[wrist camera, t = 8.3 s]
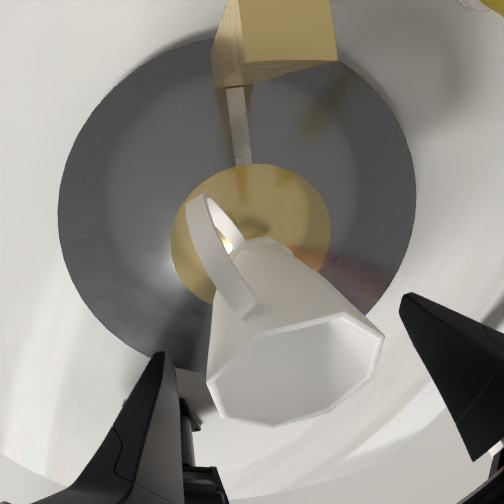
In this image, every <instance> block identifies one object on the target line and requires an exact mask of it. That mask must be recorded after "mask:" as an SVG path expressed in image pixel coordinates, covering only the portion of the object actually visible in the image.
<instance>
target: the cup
mask: <svg viewBox="0 0 504 504" xmlns="http://www.w3.org/2000/svg"><path fill="white" fill-rule="evenodd" d="M185 210H186V219H187V223H188V227H189V231H190V235H191V239H192V242H193V244H194V246H195V249H196V251H197V253H198V255H199V257H200V259H201V262H202V264H203V266H204V268H205V270H206V272H207V274H208V275H209V277H210V279H211V280H212V282H213V283H214V285H215V286H216V288H217V290H216V293H215V297H214V301H213V312H212V323H211V335H210V343H209V352H208V362H207V375H206V384H207V387H208V389H209V391H210V394H211V396H212V398H213V400H214V403H215V405H216V407H217V409H218V412H219V414H220V416H221V418H222V419H226V420H231V421H235V422H240V423H246V424H251V425H256V426H262V427H269V428H274V427H278V426H283V425H287V424H290V423H294V422H298V421H302V420H305V419H309V418H312V417H315V416H319V415H322V414H325V413H328V412H329V411H331V410H332V409H334V408H335V407H336V406H338V405H339V404H340V403H342V402H343V401H344V400H346V399H347V398H348V397H349V396H351V395H352V394H353V393H355V392H356V391H357V390H358V389H360V388H361V387H362V386H363V385H364V384H366V383H367V382H368V381H369V380H370V379H372V378H373V375H374V372H375V369H376V365H377V362H378V359H379V356H380V352H381V349H382V345H383V342H384V338H385V335H384V334H383V333H382V332H381V331H380V330H379V329H378V328H377V327H376V326H375V325H374V324H373V323H371V322H370V321H369V320H368V319H367V318H366V317H365V316H364V315H363V314H362V313H361V312H360V311H359V310H358V309H357V308H356V307H354V306H353V305H352V304H351V303H350V302H349V301H348V300H347V299H346V298H345V297H344V296H343V295H342V294H341V293H340V292H339V291H338V290H337V289H336V288H335V287H334V286H333V285H332V284H331V283H329V282H328V281H327V280H326V279H325V278H324V277H323V276H322V275H320V274H319V273H318V272H316V271H315V270H313V269H312V268H310V267H309V266H307V265H306V264H305V263H303V262H302V261H300V260H299V259H297V258H296V257H294V256H293V252H292V250H290V249H289V248H287V247H286V246H284V245H283V244H281V243H280V242H278V241H277V240H275V239H274V238H272V237H271V236H264V237H258V238H253V239H248V240H246V239H245V238H244V236H243V235H242V233H241V232H240V230H239V229H238V227H237V226H236V225H235V224H234V222H233V221H232V220H231V218H230V217H229V216H228V215H227V213H226V212H225V211H224V210H223V209H222V208H221V206H220V205H219V204H218V203H217V202H216V201H215V200H214V198H213V197H211V196H210V195H209V194H208V193H207V192H206V191H205V192H203V193H202V194H200V195H198V196H197V197H195V198H194V199H192V200H191V201H189V202H188V203H186V204H185ZM215 227H216V228H218V229H219V231H220V232H221V233H222V234H223V235H224V236H225V238H226V239H227V240H228V241H229V242H230V244H231V245H232V247H233V249H232V250H231V251H230V253H229V254H228V252H227V250H226V248H225V246H224V244H223V242H222V240H221V238H220V236H219V234H218V232H217V230H216V228H215Z"/></svg>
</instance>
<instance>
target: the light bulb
mask: <svg viewBox="0 0 504 504" xmlns="http://www.w3.org/2000/svg"><path fill="white" fill-rule="evenodd" d="M458 1H459V2H460V3H461V4H462V5H463V6H464V7H466V8H473V9H474V10H476V11H478V12H488V11H490V10H491V9H493V10H494V11H496V12H497V13H499V14H500V15H502V16H503V17H504V0H458Z"/></svg>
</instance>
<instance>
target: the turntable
mask: <svg viewBox="0 0 504 504" xmlns="http://www.w3.org/2000/svg"><path fill="white" fill-rule="evenodd" d="M205 191H206V192H207V193H208V194H209V195H210V196H211V197H213V198H214V200H215V201H216V202H217V203H218V204H219V205H220V206H221V208H222V209H223V210H224V211H225V212H226V213H227V215H228V216H229V217H230V218H231V220H232V221H233V222H234V224H235V225H236V226H237V227H238V229H239V230H240V232H241V233H242V235H243V236H244V238H245V239H246V240H248V239H253V238H258V237H264V236H271V237H272V238H274V239H275V240H277V241H278V242H280V243H281V244H283V245H284V246H286V247H287V248H289V249H290V250H292V252H293V256H294V257H296V258H297V259H299V260H300V261H302V262H303V263H305V264H306V265H307V266H309V267H310V268H312V269H313V270H315V271H316V272H318V273H319V274H320V275H322V276H323V277H324V278H325V279H326V280H327V281H328V282H329V283H331V284H332V285H333V286H334V287H335V288H336V289H337V290H338V291H339V292H340V293H341V294H342V295H343V296H344V297H345V298H346V299H347V300H348V301H349V302H350V303H351V304H352V305H353V306H354V307H356V308H357V309H358V310H359V311H360V312H361V313H362V314H363V315H364V316H365V315H366V314H367V313H368V312H369V311H370V310H371V309H372V308H373V306H374V305H375V304H376V303H377V302H378V301H379V299H380V298H381V296H382V295H383V294H384V292H385V291H386V290H387V288H388V287H389V285H390V283H391V282H392V280H393V278H394V277H395V275H396V273H397V271H398V269H399V267H400V265H401V263H402V260H403V258H404V256H405V253H406V250H407V247H408V244H409V241H410V238H411V234H412V229H413V224H414V218H415V208H416V183H415V173H414V168H413V163H412V158H411V154H410V151H409V148H408V145H407V142H406V139H405V137H404V134H403V132H402V130H401V128H400V126H399V124H398V122H397V120H396V118H395V117H394V115H393V113H392V112H391V110H390V109H389V107H388V106H387V105H386V103H385V102H384V101H383V99H382V98H381V97H380V95H379V94H378V93H377V92H376V91H375V90H374V89H373V88H372V87H371V86H370V85H369V84H368V83H367V82H366V81H365V80H364V79H363V78H362V77H361V76H360V75H358V74H357V73H356V72H354V71H353V70H351V69H350V68H349V67H347V66H346V65H345V64H343V63H342V62H340V61H338V57H337V48H336V40H335V33H334V26H333V19H332V12H331V6H330V0H228V1H227V4H226V7H225V9H224V12H223V15H222V18H221V21H220V24H219V27H218V30H217V33H216V36H215V38H213V39H208V40H203V41H198V42H194V43H191V44H188V45H186V46H183V47H180V48H177V49H174V50H172V51H169V52H167V53H165V54H163V55H161V56H159V57H157V58H155V59H154V60H152V61H150V62H148V63H146V64H145V65H143V66H141V67H140V68H138V69H137V70H135V71H134V72H133V73H132V74H130V75H129V76H128V77H126V78H125V79H124V80H123V81H121V82H120V83H119V84H118V85H117V86H115V87H114V88H113V89H112V90H111V91H110V93H109V94H108V95H107V96H106V97H105V98H104V99H103V100H102V101H101V102H100V104H99V105H98V106H97V107H96V108H95V109H94V111H93V112H92V114H91V115H90V117H89V118H88V120H87V121H86V123H85V124H84V126H83V127H82V129H81V131H80V132H79V134H78V136H77V138H76V140H75V142H74V145H73V147H72V149H71V151H70V154H69V156H68V159H67V161H66V165H65V169H64V172H63V176H62V180H61V184H60V191H59V201H58V229H59V239H60V244H61V248H62V253H63V257H64V261H65V264H66V266H67V269H68V272H69V274H70V277H71V279H72V282H73V283H74V285H75V287H76V289H77V291H78V293H79V294H80V296H81V298H82V300H83V301H84V302H85V304H86V305H87V306H88V308H89V309H90V310H91V312H92V313H93V314H94V316H95V317H96V318H97V319H98V320H99V321H100V322H101V323H102V324H103V325H104V326H105V327H106V328H107V329H108V330H109V331H110V332H111V333H113V334H114V335H115V336H116V337H118V338H119V339H120V340H121V341H123V342H124V343H125V344H127V345H129V346H130V347H132V348H133V349H135V350H137V351H138V352H140V353H142V354H144V355H146V356H148V357H150V358H152V356H153V355H154V353H155V352H157V351H164V350H165V351H167V352H168V354H169V356H170V358H171V360H172V362H173V364H174V367H177V368H182V369H186V370H191V371H196V372H204V373H207V362H208V352H209V343H210V335H211V323H212V312H213V301H214V297H215V293H216V290H217V288H216V286H215V285H214V283H213V282H212V280H211V279H210V277H209V275H208V274H207V272H206V270H205V268H204V266H203V264H202V262H201V259H200V257H199V255H198V253H197V251H196V249H195V246H194V244H193V242H192V239H191V235H190V231H189V227H188V223H187V219H186V210H185V204H186V203H188V202H189V201H191V200H192V199H194V198H195V197H197V196H198V195H200V194H202V193H203V192H205ZM215 228H216V227H215ZM216 230H217V232H218V234H219V236H220V238H221V240H222V242H223V244H224V246H225V248H226V250H227V252H228V254H229V253H230V251H231V250H232V249H233V247H232V245H231V244H230V242H229V241H228V240H227V239H226V238H225V236H224V235H223V234H222V233H221V232H220V231H219V229H218V228H216Z"/></svg>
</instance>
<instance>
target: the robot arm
mask: <svg viewBox="0 0 504 504" xmlns="http://www.w3.org/2000/svg"><path fill="white" fill-rule="evenodd" d="M399 315H400V318H401V320H402V322H403V324H404V326H405V328H406V330H407V332H408V335H409V337H410V339H411V341H412V343H413V345H414V347H415V349H416V351H417V352H418V354H419V356H420V358H421V359H422V361H423V363H424V365H425V366H426V368H427V370H428V372H429V374H430V375H431V377H432V379H433V381H434V383H435V385H436V387H437V388H438V390H439V392H440V394H441V396H442V398H443V400H444V402H445V404H446V406H447V408H448V410H449V412H450V413H451V416H452V418H453V420H454V422H455V423H456V426H457V428H458V431H459V433H460V435H461V437H462V439H463V442H464V444H465V446H466V448H467V450H468V453H469V455H470V457H471V460H472V461H473V462H474V461H476V460H477V459H478V458H479V457H481V456H482V455H483V454H484V453H486V452H487V451H488V450H490V449H491V448H492V447H493V446H494V445H496V444H497V443H498V442H499V441H501V443H502V444H503V446H504V333H501V332H499V331H496V330H494V329H492V328H490V327H488V326H486V325H483V324H481V323H479V322H477V321H475V320H473V319H471V318H468V317H466V316H464V315H462V314H460V313H458V312H455V311H453V310H451V309H449V308H447V307H444V306H442V305H440V304H438V303H435V302H433V301H431V300H429V299H427V298H424V297H422V296H420V295H418V294H415V293H413V292H410V293H407V294H404V295H403V297H402V300H401V304H400V308H399ZM200 430H201V426H200V424H199V422H198V421H197V419H196V417H195V416H194V414H193V412H192V410H191V409H190V407H189V405H188V403H187V402H186V400H184V399H179V398H178V390H177V382H176V374H175V367H174V364H173V362H172V360H171V358H170V356H169V354H168V352H167V351H165V350H164V351H157V352H155V353H154V355H153V356H152V358H151V360H150V361H149V363H148V365H147V366H146V368H145V370H144V371H143V373H142V375H141V377H140V378H139V380H138V382H137V383H136V385H135V387H134V389H133V390H132V392H131V394H130V395H129V397H128V399H127V401H126V402H125V404H123V405H122V409H121V411H120V413H119V415H118V416H117V418H116V420H115V422H114V423H113V426H112V427H111V429H110V430H109V432H108V434H107V436H106V437H105V439H104V441H103V442H102V444H101V446H100V447H99V449H98V450H97V452H96V453H95V454H94V456H93V457H92V459H91V460H90V461H89V463H88V464H87V466H86V467H85V468H84V470H83V471H82V473H81V474H80V475H79V477H78V478H77V479H76V481H75V482H74V483H73V484H72V485H70V486H69V487H68V488H66V489H64V490H62V491H60V492H58V493H55V494H53V495H51V496H48V497H46V498H44V499H41V500H39V501H36V502H34V503H32V504H229V501H228V498H227V495H226V493H225V490H224V488H223V485H222V482H221V479H220V477H219V474H218V471H217V468H216V467H211V466H210V467H196V466H195V457H194V447H193V437H192V432H196V431H200ZM0 504H11V503H8V502H5V501H3V502H1V503H0ZM457 504H504V447H503V448H502V449H501V450H499V451H498V452H497V453H496V454H495V455H494V456H493V460H492V465H491V470H490V474H489V478H488V480H487V481H486V482H484V483H483V484H482V485H481V486H479V487H478V488H477V489H476V490H475V491H473V492H472V493H470V494H469V495H468V496H466V497H465V498H464V499H462V500H461V501H460V502H458V503H457Z"/></svg>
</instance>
